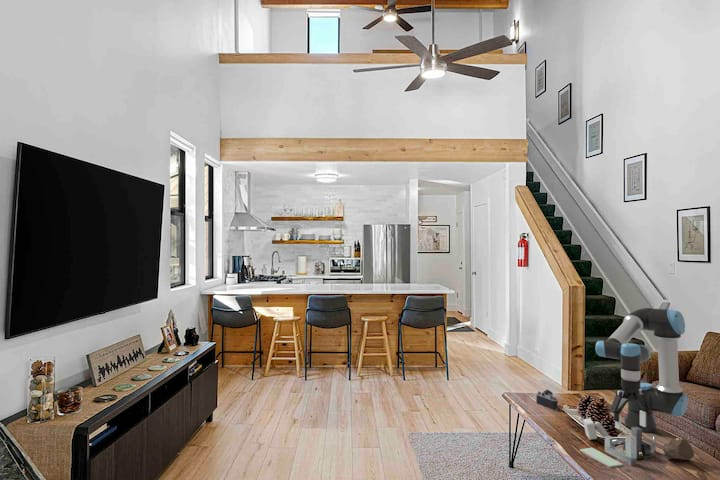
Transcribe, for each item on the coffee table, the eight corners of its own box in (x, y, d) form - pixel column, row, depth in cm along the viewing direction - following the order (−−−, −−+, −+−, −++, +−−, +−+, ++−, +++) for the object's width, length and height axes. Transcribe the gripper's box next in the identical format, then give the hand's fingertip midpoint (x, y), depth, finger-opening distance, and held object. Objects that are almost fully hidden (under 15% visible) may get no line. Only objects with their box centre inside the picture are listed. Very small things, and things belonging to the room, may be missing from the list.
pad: (592, 449, 225) (592, 447, 225) (622, 465, 208) (622, 464, 208) (579, 450, 223) (579, 449, 223) (609, 467, 206) (609, 465, 206)
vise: (648, 448, 227) (647, 422, 227) (662, 455, 219) (662, 429, 219) (606, 453, 220) (606, 427, 220) (620, 461, 212) (620, 434, 213)
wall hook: (613, 442, 232) (608, 421, 233) (590, 444, 234) (586, 424, 235) (608, 435, 240) (603, 416, 241) (586, 438, 242) (582, 418, 243)
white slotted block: (610, 450, 224) (609, 425, 224) (636, 464, 209) (636, 437, 209) (604, 451, 223) (604, 425, 223) (631, 465, 208) (630, 437, 209)
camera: (565, 409, 282) (564, 392, 282) (554, 411, 278) (554, 394, 278) (544, 401, 296) (544, 385, 296) (534, 403, 292) (534, 387, 293)
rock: (679, 467, 207) (679, 444, 207) (655, 457, 216) (655, 435, 216) (695, 461, 213) (695, 438, 213) (671, 452, 222) (671, 431, 222)
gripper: (645, 375, 218) (645, 422, 217) (601, 378, 211) (601, 426, 211) (660, 379, 211) (660, 427, 210) (614, 382, 204) (614, 432, 203)
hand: (630, 427), depth 210 cm, fingers open, 13 cm apart
